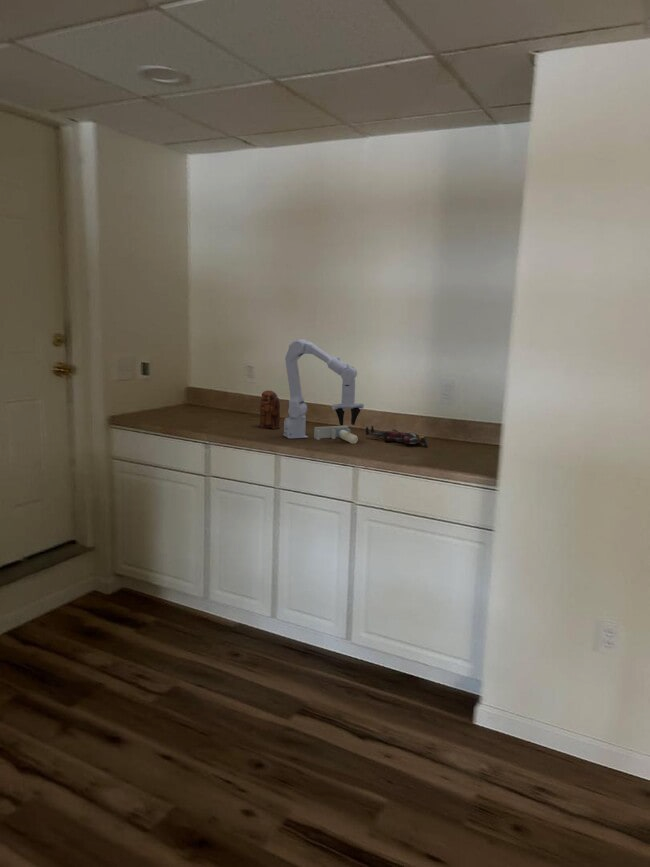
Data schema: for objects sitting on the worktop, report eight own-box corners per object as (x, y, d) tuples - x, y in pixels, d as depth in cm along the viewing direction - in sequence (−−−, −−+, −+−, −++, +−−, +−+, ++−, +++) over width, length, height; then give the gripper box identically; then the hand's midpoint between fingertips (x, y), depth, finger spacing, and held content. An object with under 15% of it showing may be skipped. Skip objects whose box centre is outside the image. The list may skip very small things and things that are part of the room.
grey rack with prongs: (317, 439, 293) (317, 429, 292) (314, 438, 297) (314, 427, 296) (350, 438, 300) (351, 427, 299) (347, 436, 303) (347, 425, 302)
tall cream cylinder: (354, 445, 289) (359, 437, 289) (347, 441, 287) (352, 433, 288) (343, 439, 300) (348, 432, 300) (337, 435, 298) (341, 428, 298)
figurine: (376, 424, 307) (434, 432, 289) (376, 436, 308) (433, 445, 291) (361, 428, 297) (421, 436, 279) (361, 440, 298) (420, 449, 280)
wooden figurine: (255, 426, 319) (255, 390, 315) (263, 425, 324) (263, 388, 321) (275, 430, 313) (275, 392, 309) (282, 428, 318) (283, 391, 315)
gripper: (336, 396, 282) (335, 427, 285) (367, 395, 288) (365, 425, 291) (330, 393, 289) (329, 424, 291) (360, 393, 294) (359, 422, 297)
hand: (347, 424), depth 291 cm, fingers open, 5 cm apart
